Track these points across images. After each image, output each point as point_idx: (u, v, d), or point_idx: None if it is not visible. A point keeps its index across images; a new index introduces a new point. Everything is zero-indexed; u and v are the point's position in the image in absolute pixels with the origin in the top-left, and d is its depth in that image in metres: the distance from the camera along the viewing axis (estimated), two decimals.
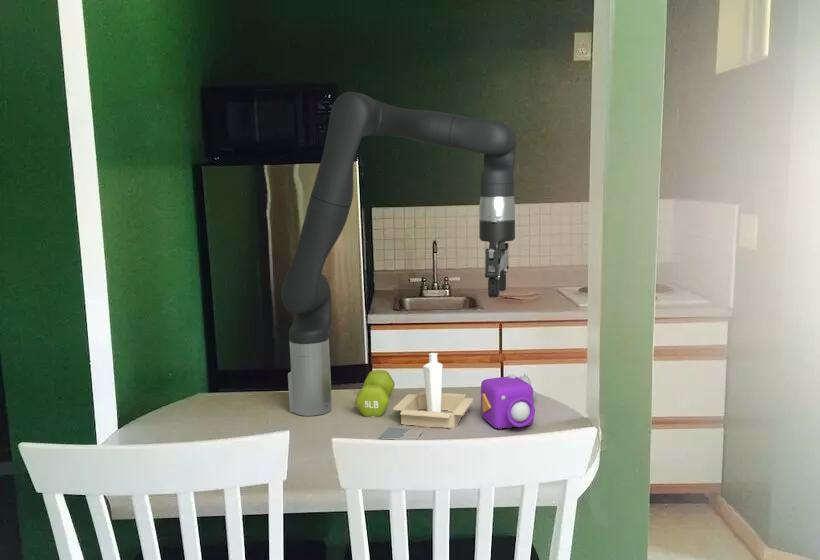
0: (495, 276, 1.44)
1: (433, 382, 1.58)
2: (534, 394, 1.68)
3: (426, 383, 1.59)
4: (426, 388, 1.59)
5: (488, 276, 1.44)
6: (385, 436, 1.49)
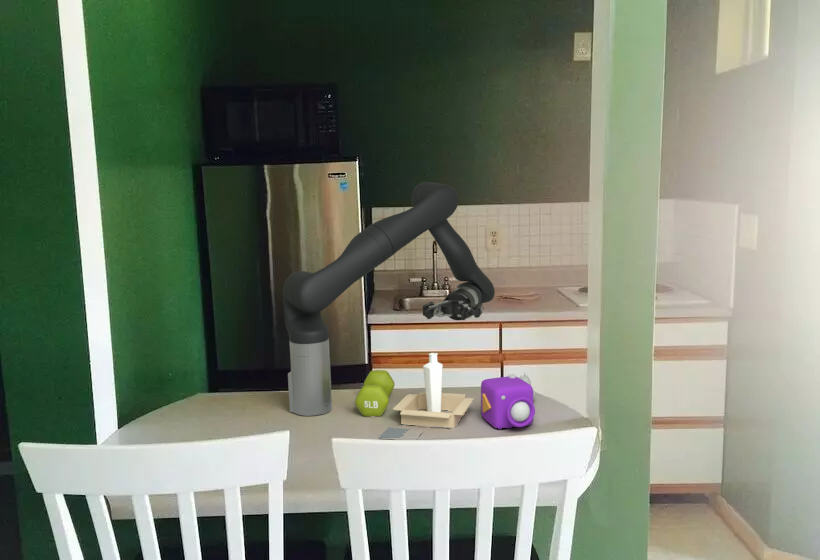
0: (478, 315, 1.70)
1: (433, 382, 1.58)
2: (534, 394, 1.68)
3: (426, 383, 1.59)
4: (426, 388, 1.59)
5: (478, 310, 1.70)
6: (385, 436, 1.49)
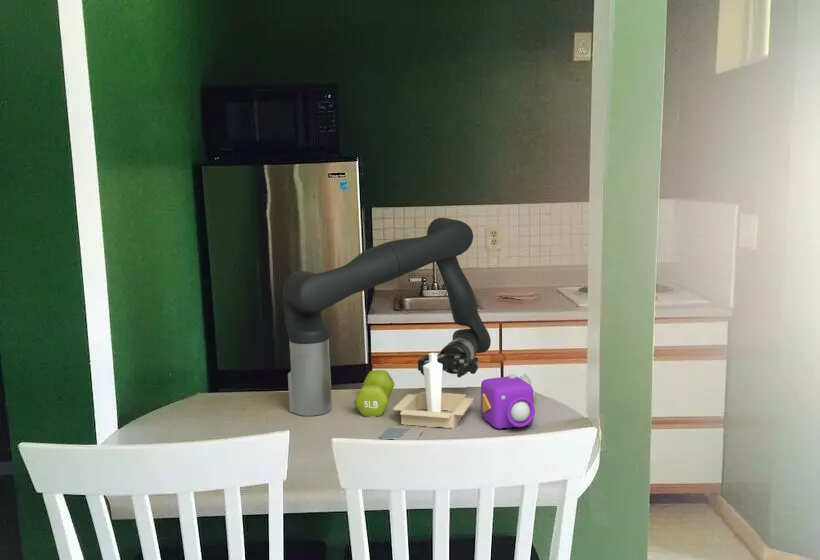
0: (474, 372, 1.68)
1: (433, 382, 1.58)
2: (534, 394, 1.68)
3: (426, 383, 1.59)
4: (426, 388, 1.59)
5: (474, 366, 1.68)
6: (385, 436, 1.49)
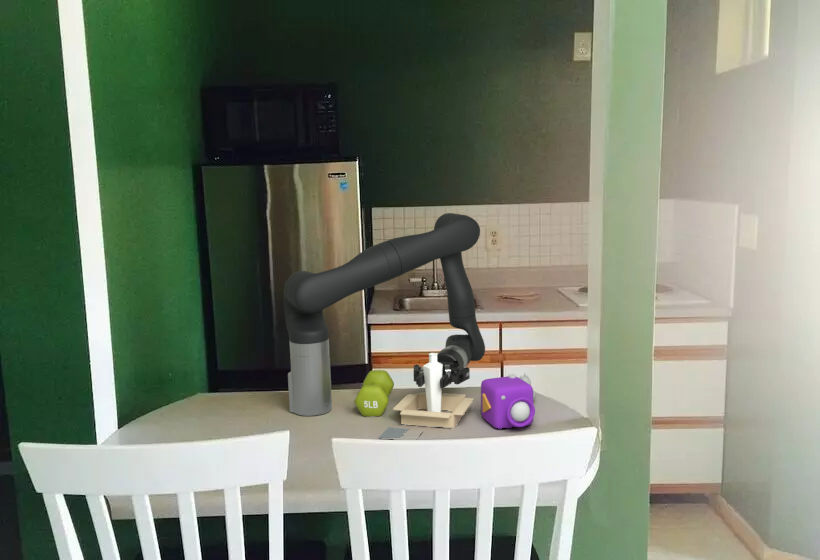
0: (458, 382, 1.60)
1: (433, 382, 1.58)
2: (534, 394, 1.68)
3: (426, 383, 1.59)
4: (426, 388, 1.59)
5: (457, 376, 1.60)
6: (385, 436, 1.49)
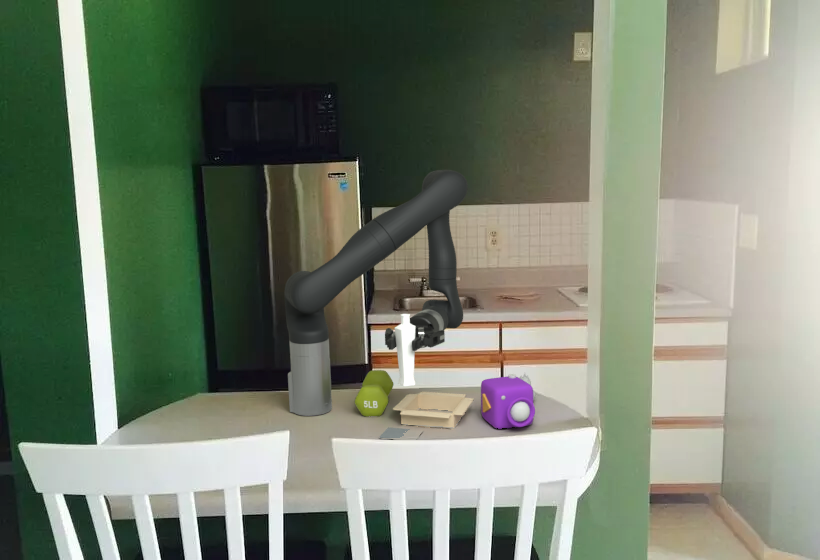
0: (432, 345, 1.50)
1: (405, 344, 1.48)
2: (534, 394, 1.68)
3: (398, 346, 1.50)
4: (398, 351, 1.50)
5: (431, 339, 1.50)
6: (385, 436, 1.49)
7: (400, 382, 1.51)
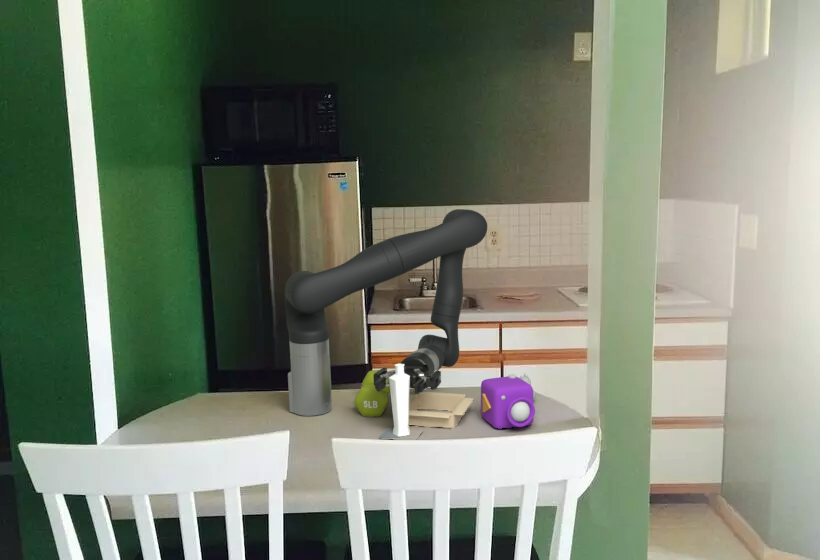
0: (435, 387, 1.50)
1: (399, 395, 1.48)
2: (534, 394, 1.68)
3: (392, 396, 1.49)
4: (392, 401, 1.49)
5: (434, 381, 1.49)
6: (385, 436, 1.49)
7: (394, 432, 1.50)
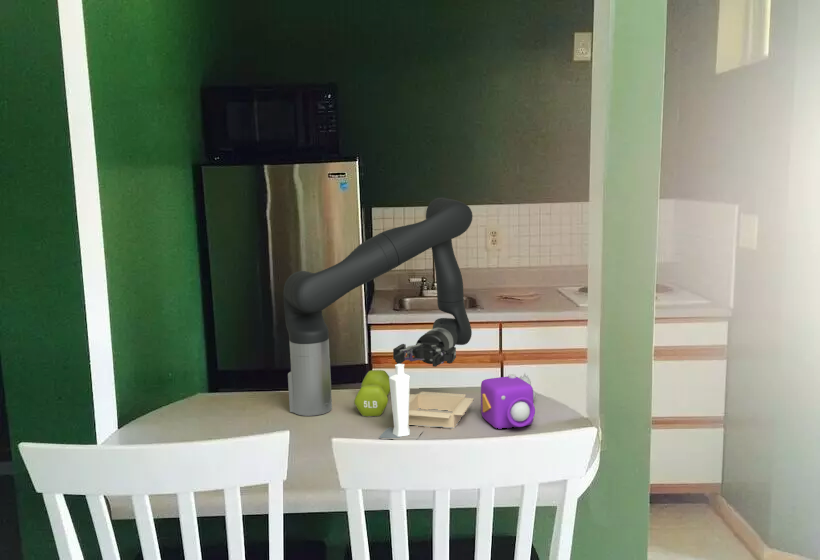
0: (451, 361, 1.62)
1: (399, 395, 1.48)
2: (534, 394, 1.68)
3: (392, 396, 1.49)
4: (392, 401, 1.49)
5: (450, 355, 1.62)
6: (385, 436, 1.49)
7: (394, 432, 1.50)
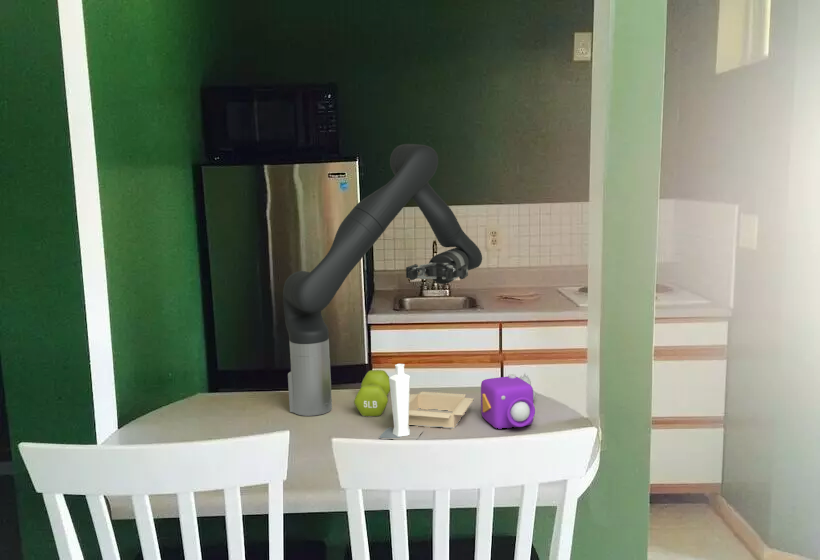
0: (463, 277, 1.64)
1: (399, 395, 1.48)
2: (534, 394, 1.68)
3: (392, 396, 1.49)
4: (392, 401, 1.49)
5: (463, 271, 1.64)
6: (385, 436, 1.49)
7: (394, 432, 1.50)
